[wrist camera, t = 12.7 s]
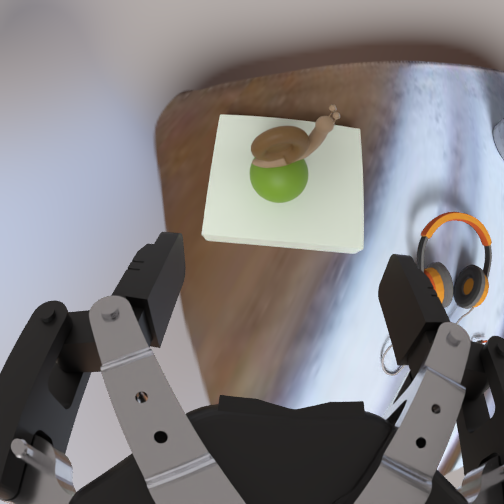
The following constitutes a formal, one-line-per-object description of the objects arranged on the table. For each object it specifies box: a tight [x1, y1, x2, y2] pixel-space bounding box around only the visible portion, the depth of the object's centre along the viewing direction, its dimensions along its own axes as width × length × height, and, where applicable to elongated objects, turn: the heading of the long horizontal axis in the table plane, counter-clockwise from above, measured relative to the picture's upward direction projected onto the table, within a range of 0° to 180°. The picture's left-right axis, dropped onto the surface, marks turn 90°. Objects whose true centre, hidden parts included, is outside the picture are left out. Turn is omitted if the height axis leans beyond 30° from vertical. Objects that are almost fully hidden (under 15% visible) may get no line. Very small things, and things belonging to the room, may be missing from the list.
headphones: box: [381, 212, 492, 376], centre depth 29 cm, size 16×5×20 cm
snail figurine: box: [250, 104, 340, 203], centre depth 24 cm, size 5×6×12 cm
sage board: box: [202, 115, 364, 254], centre depth 32 cm, size 16×14×3 cm
